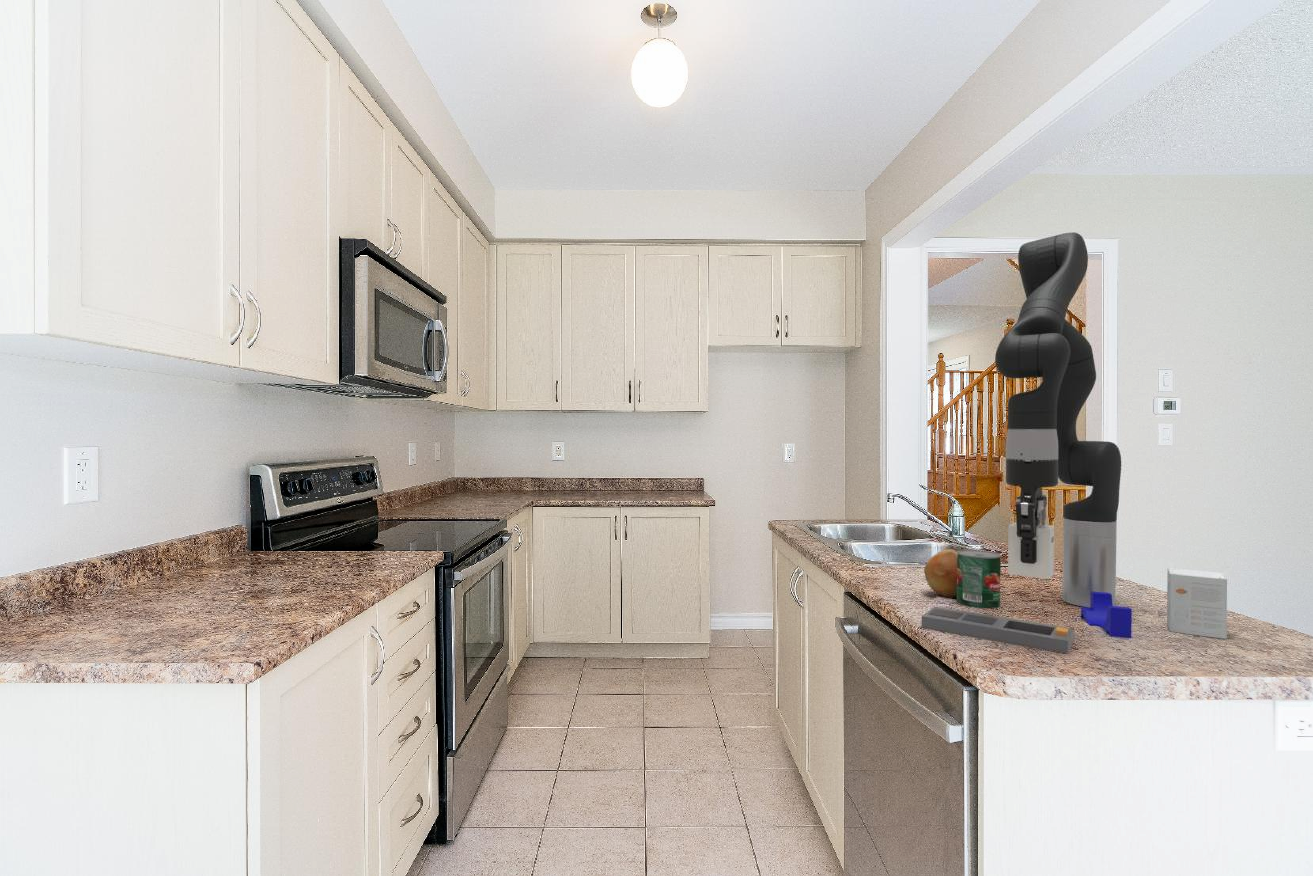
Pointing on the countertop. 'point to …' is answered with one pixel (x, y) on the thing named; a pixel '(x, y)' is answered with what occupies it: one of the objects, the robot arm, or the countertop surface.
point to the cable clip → (1108, 615)
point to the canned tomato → (978, 578)
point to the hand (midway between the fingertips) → (1031, 559)
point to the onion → (943, 573)
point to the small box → (1197, 603)
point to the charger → (1044, 553)
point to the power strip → (1000, 629)
